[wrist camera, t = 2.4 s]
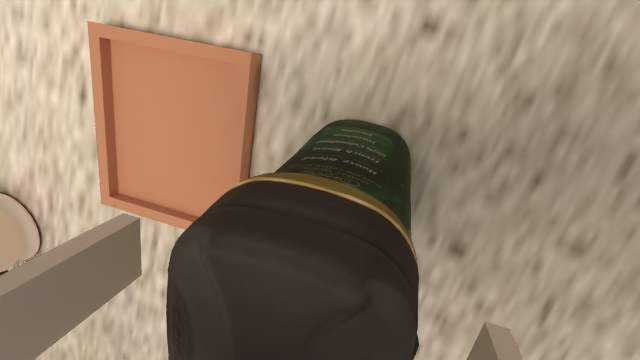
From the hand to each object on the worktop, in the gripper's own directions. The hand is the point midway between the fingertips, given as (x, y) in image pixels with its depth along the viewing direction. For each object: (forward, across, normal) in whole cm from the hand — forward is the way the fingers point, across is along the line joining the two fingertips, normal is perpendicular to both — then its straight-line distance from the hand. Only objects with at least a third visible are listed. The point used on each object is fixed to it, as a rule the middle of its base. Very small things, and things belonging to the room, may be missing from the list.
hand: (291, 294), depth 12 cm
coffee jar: (+15, 0, 0) cm, 15 cm away
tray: (+15, +16, 0) cm, 21 cm away
